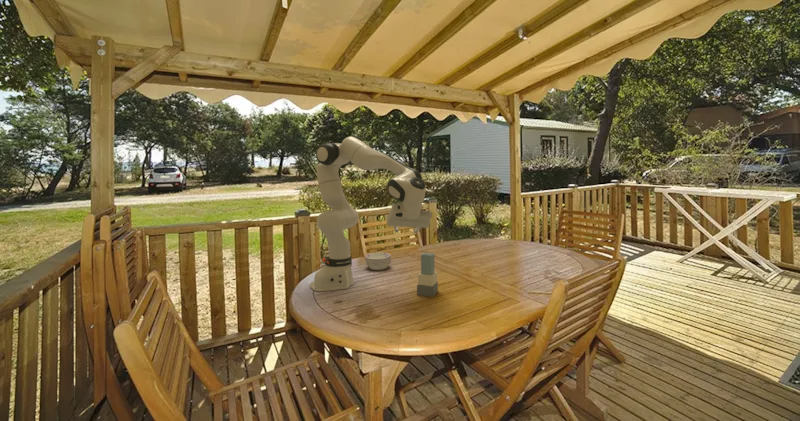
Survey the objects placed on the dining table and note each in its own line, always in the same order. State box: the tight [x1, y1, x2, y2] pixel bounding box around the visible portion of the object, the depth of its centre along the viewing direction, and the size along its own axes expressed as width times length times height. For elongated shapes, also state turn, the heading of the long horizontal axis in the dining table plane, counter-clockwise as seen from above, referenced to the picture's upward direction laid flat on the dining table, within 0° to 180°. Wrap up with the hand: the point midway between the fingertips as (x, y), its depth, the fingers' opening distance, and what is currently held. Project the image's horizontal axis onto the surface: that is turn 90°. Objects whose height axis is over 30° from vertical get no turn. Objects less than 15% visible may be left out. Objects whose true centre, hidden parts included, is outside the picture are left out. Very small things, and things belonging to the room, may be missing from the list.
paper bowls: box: [364, 252, 392, 271], centre depth 216 cm, size 15×15×8 cm
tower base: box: [416, 281, 439, 298], centre depth 174 cm, size 8×8×5 cm
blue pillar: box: [420, 252, 435, 275], centre depth 172 cm, size 5×5×9 cm
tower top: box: [417, 271, 438, 286], centre depth 173 cm, size 7×7×5 cm
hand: (406, 231), depth 175 cm, fingers open, 8 cm apart
